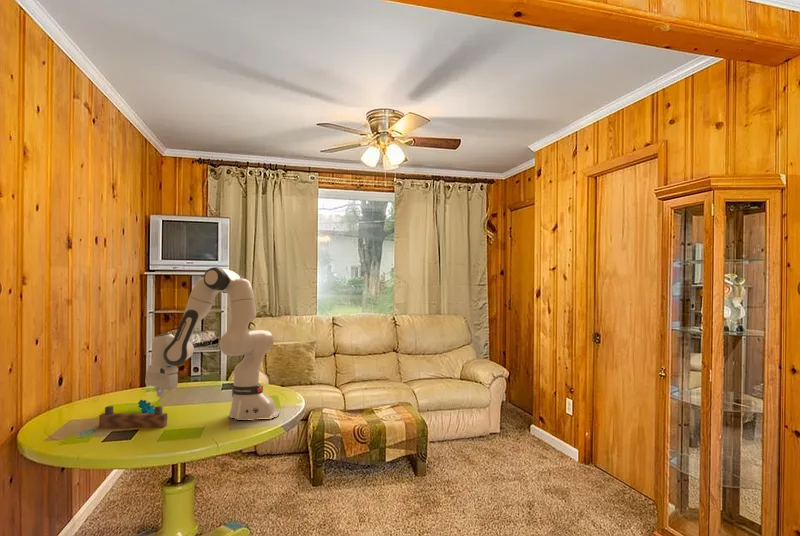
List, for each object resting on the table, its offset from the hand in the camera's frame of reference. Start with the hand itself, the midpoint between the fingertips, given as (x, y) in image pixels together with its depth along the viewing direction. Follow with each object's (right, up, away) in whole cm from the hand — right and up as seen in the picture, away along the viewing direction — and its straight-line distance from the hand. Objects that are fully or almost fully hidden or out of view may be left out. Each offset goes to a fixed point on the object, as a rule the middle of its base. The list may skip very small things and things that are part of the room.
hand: (160, 396), depth 220 cm
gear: (+1, -6, -12) cm, 13 cm away
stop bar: (+2, -5, -26) cm, 26 cm away
